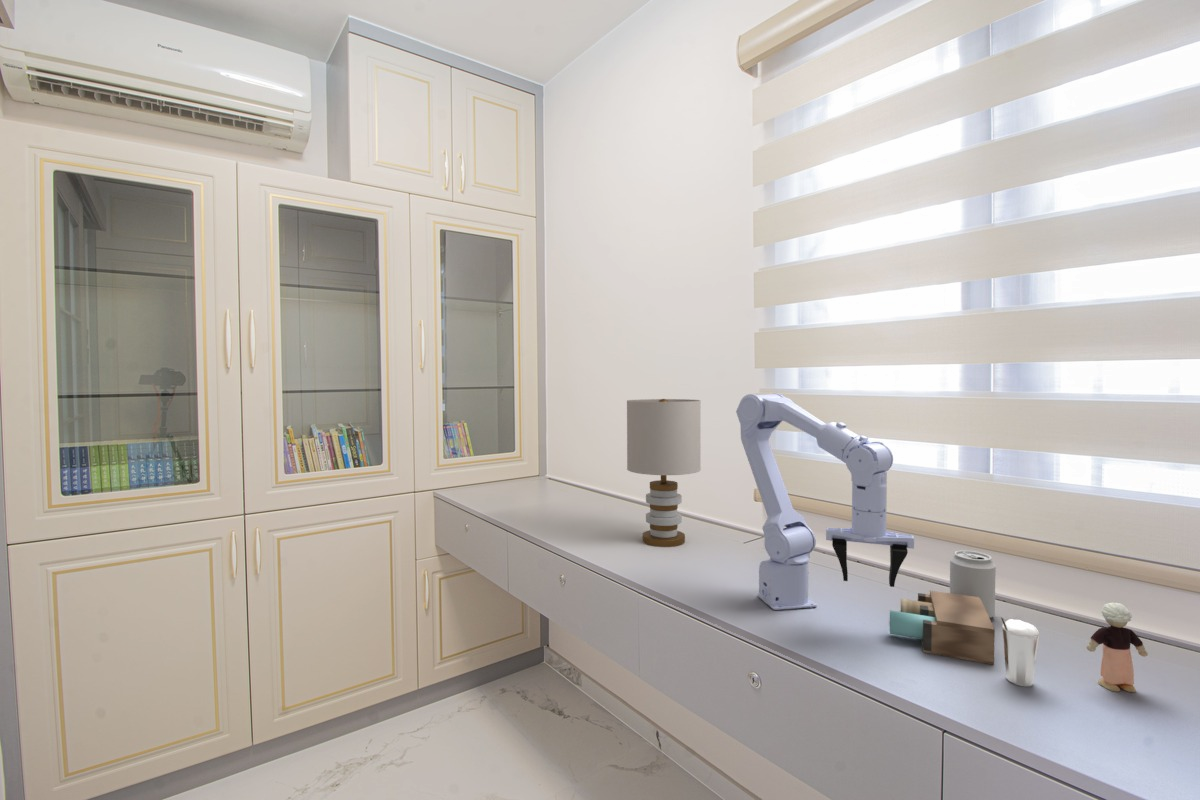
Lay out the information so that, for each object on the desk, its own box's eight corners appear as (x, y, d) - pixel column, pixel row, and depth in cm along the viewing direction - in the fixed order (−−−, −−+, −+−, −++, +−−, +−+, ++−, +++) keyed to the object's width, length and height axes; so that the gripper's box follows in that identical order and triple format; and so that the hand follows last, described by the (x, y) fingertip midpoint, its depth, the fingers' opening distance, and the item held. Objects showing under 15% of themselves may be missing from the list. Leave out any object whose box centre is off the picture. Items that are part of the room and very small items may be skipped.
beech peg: (901, 624, 106) (901, 602, 105) (900, 616, 109) (900, 595, 109) (964, 634, 101) (965, 612, 101) (961, 625, 105) (962, 604, 105)
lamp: (660, 527, 178) (660, 397, 177) (715, 541, 163) (715, 398, 162) (612, 540, 164) (611, 399, 163) (667, 556, 149) (667, 400, 147)
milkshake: (989, 674, 89) (990, 611, 88) (1021, 672, 89) (1022, 610, 89) (1012, 690, 84) (1013, 624, 84) (1046, 688, 85) (1047, 622, 84)
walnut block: (923, 652, 96) (923, 618, 96) (917, 618, 110) (917, 588, 109) (994, 664, 92) (994, 629, 92) (979, 628, 105) (979, 597, 105)
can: (980, 625, 106) (981, 562, 106) (941, 611, 113) (942, 551, 113) (1003, 617, 110) (1004, 556, 109) (963, 604, 116) (964, 546, 116)
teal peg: (889, 637, 100) (890, 615, 100) (889, 628, 104) (889, 606, 104) (956, 648, 96) (956, 625, 96) (953, 639, 99) (953, 616, 99)
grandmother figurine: (1126, 679, 87) (1128, 597, 87) (1151, 693, 83) (1153, 608, 83) (1077, 680, 87) (1079, 598, 86) (1100, 694, 83) (1102, 609, 83)
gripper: (825, 510, 103) (825, 583, 104) (916, 517, 97) (915, 595, 98) (826, 502, 110) (826, 571, 110) (912, 508, 104) (911, 581, 104)
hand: (868, 582), depth 104 cm, fingers open, 7 cm apart
